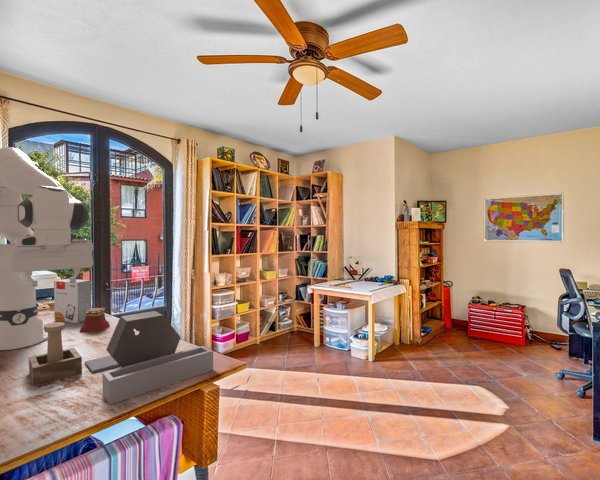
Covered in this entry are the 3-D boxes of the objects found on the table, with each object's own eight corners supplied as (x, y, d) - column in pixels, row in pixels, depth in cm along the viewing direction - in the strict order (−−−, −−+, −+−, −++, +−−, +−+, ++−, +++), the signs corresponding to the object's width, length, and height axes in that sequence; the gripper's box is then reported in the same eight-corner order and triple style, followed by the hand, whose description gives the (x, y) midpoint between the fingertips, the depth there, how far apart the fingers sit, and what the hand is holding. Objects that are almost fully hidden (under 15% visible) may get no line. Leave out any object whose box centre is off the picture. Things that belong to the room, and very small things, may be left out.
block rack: (102, 395, 85) (102, 372, 85) (202, 364, 105) (202, 345, 105) (109, 404, 80) (109, 380, 80) (213, 370, 100) (213, 350, 100)
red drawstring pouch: (110, 326, 148) (110, 307, 148) (98, 332, 139) (98, 311, 139) (91, 326, 148) (91, 307, 148) (79, 332, 139) (78, 311, 139)
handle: (49, 379, 94) (48, 328, 94) (42, 373, 98) (41, 324, 98) (68, 373, 98) (67, 324, 98) (61, 368, 102) (60, 321, 102)
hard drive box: (53, 321, 158) (52, 280, 158) (68, 317, 165) (68, 278, 165) (77, 323, 153) (76, 281, 153) (92, 319, 161) (91, 279, 160)
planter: (181, 343, 111) (145, 298, 103) (190, 349, 105) (152, 301, 97) (136, 382, 102) (93, 336, 94) (144, 391, 96) (99, 343, 88)
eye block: (29, 373, 98) (28, 357, 98) (74, 362, 106) (74, 347, 106) (33, 385, 90) (32, 368, 90) (81, 373, 98) (81, 357, 98)
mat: (84, 363, 105) (84, 361, 105) (118, 355, 112) (118, 353, 112) (92, 373, 98) (92, 370, 98) (127, 363, 105) (127, 361, 105)
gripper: (90, 238, 107) (91, 280, 107) (7, 239, 93) (9, 287, 93) (95, 238, 103) (96, 281, 103) (9, 240, 88) (10, 290, 88)
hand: (54, 284), depth 98 cm, fingers open, 8 cm apart
